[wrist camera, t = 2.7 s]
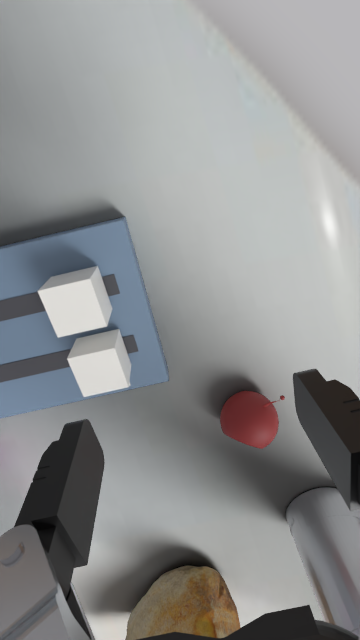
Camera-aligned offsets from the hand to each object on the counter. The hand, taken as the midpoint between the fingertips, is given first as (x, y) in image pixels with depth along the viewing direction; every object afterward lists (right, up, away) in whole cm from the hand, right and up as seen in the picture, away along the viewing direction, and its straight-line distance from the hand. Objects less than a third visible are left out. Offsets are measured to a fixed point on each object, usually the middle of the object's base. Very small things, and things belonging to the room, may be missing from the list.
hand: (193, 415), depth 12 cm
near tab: (-9, +6, +17) cm, 20 cm away
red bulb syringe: (+7, -5, +25) cm, 27 cm away
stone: (0, -42, +42) cm, 60 cm away
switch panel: (-13, +3, +20) cm, 24 cm away
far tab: (-8, +1, +19) cm, 21 cm away
